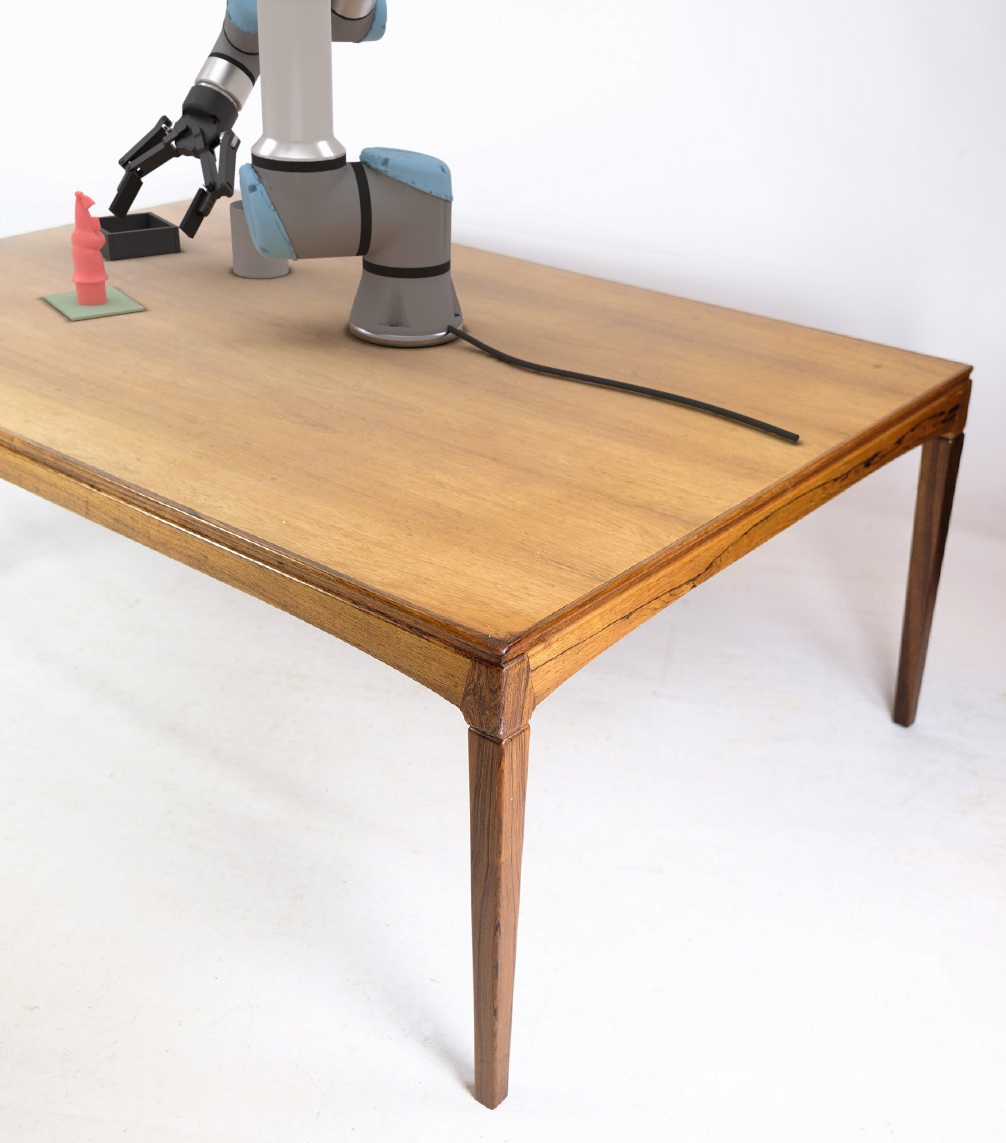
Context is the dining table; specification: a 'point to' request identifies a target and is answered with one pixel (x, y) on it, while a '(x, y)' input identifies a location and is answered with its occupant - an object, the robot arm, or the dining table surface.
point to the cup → (250, 250)
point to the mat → (76, 311)
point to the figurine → (88, 254)
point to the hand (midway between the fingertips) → (150, 224)
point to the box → (138, 236)
